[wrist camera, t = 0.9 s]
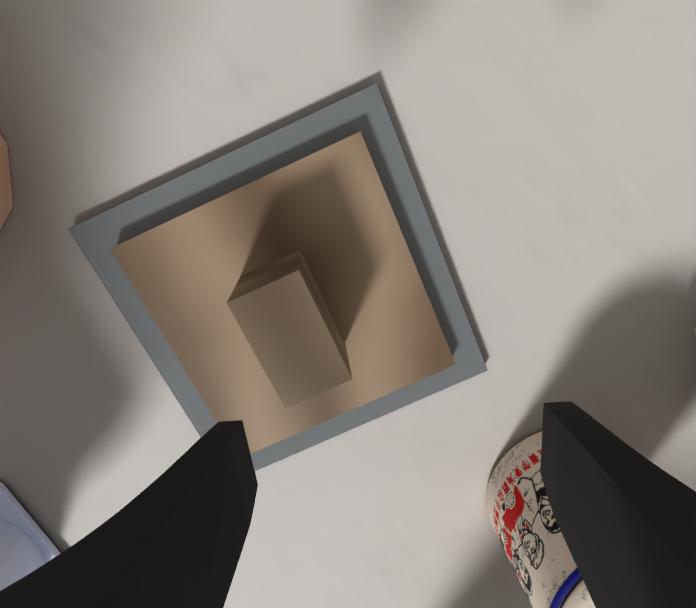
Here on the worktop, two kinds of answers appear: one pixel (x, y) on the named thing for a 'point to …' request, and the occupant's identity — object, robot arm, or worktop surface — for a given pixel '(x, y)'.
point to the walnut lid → (291, 295)
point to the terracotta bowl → (5, 183)
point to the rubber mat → (246, 167)
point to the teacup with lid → (533, 530)
